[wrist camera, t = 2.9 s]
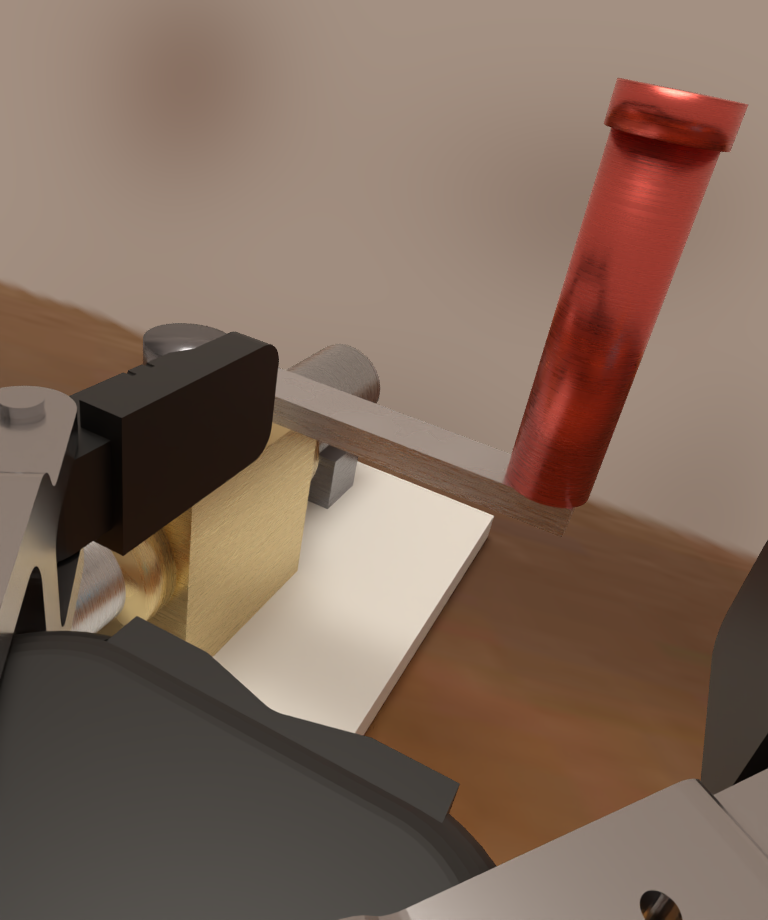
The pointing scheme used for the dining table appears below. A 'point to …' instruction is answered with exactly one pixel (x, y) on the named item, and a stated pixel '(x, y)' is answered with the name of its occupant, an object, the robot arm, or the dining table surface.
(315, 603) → the mounting board
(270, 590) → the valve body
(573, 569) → the dining table surface
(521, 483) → the lever
